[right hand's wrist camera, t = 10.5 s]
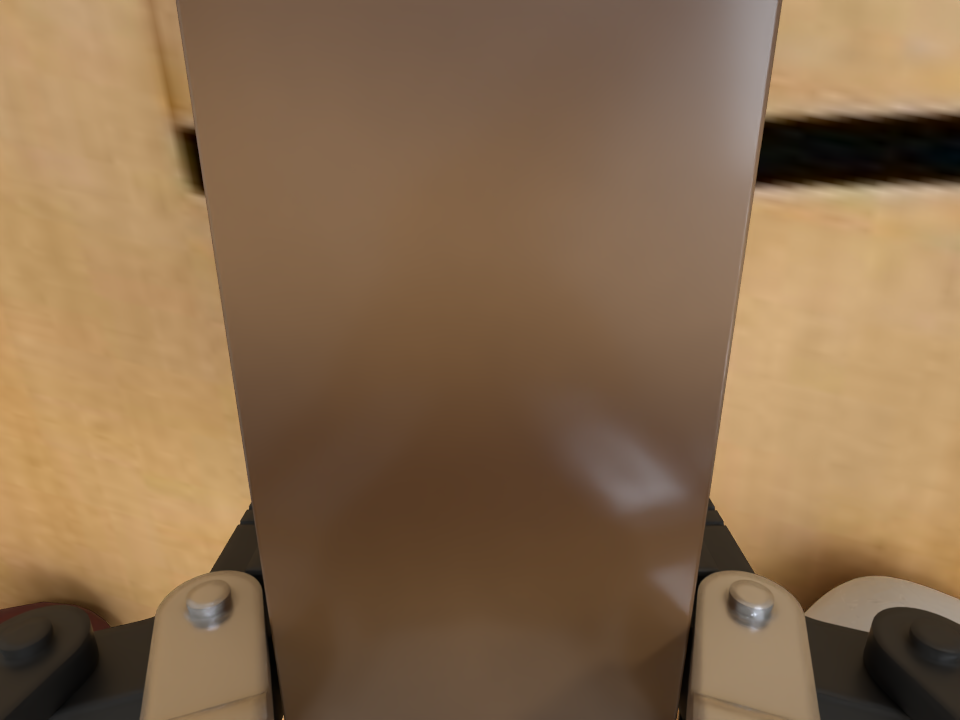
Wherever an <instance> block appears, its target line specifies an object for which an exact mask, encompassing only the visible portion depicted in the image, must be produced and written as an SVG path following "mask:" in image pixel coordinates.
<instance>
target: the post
mask: <svg viewBox="0 0 960 720" xmlns="http://www.w3.org/2000/svg"><path fill="white" fill-rule="evenodd" d="M176 5H177V11H178V18H179V24H180V31H181V38H182V44H183V51H184V58H185V64H186V71H187V77H188V84H189V91H190V97H191V104H192V111H193V117H194V124H195V130H196V137H197V144H198V150H199V157H200V164H201V170H202V177H203V183H204V190H205V197H206V203H207V210H208V217H209V223H210V230H211V236H212V243H213V250H214V256H215V263H216V270H217V276H218V283H219V289H220V296H221V303H222V309H223V316H224V323H225V329H226V336H227V342H228V349H229V356H230V362H231V369H232V376H233V382H234V389H235V395H236V402H237V409H238V415H239V422H240V429H241V435H242V442H243V448H244V455H245V462H246V468H247V475H248V482H249V488H250V495H251V501H252V508H253V515H254V521H255V528H256V535H257V541H258V548H259V554H260V561H261V568H262V574H263V581H264V588H265V594H266V601H267V607H268V614H269V621H270V627H271V634H272V641H273V647H274V654H275V660H276V667H277V674H278V680H279V687H280V694H281V700H282V707H283V713H284V720H676V719H677V712H678V705H679V698H680V692H681V685H682V678H683V671H684V665H685V658H686V651H687V644H688V637H689V631H690V624H691V617H692V610H693V603H694V597H695V590H696V583H697V576H698V569H699V563H700V556H701V549H702V542H703V535H704V529H705V522H706V515H707V508H708V502H709V495H710V488H711V481H712V474H713V468H714V461H715V454H716V447H717V440H718V434H719V427H720V420H721V413H722V406H723V400H724V393H725V386H726V379H727V372H728V366H729V359H730V352H731V345H732V339H733V332H734V325H735V318H736V311H737V305H738V298H739V291H740V284H741V277H742V271H743V264H744V257H745V250H746V243H747V237H748V230H749V223H750V216H751V209H752V203H753V196H754V189H755V182H756V176H757V169H758V162H759V155H760V148H761V142H762V135H763V128H764V121H765V114H766V108H767V101H768V94H769V87H770V80H771V74H772V67H773V60H774V53H775V46H776V40H777V33H778V26H779V19H780V13H781V6H782V0H176Z"/></svg>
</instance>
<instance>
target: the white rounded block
mask: <svg viewBox="0 0 960 720" xmlns="http://www.w3.org/2000/svg"><path fill="white" fill-rule="evenodd" d="M892 607H910V608H917V609H922V610H926V611H929V612H932V613H936V614H938V615H941V616H943V617H946V618H948V619H950V620H952V621H954V622H956V623H958V624H960V599H957V598H955V597H952V596H950V595H947V594H945V593H942V592H940V591H937V590H935V589H932V588H929V587H926V586H923V585H920V584H917V583H914V582H911V581H907V580H903V579H898V578H893V577H887V576H866V577H860V578H856V579H853V580H850V581H848V582H845V583H843V584H841V585H839V586H837V587H835V588H833V589H832V590H830V591H829V592H828V593H826V594H825V595H824V596H822V597H821V598H820V599H819V600H818V601H816V602H815V603H814V604H813V605H812V606H811V607H810V608H809V609H808V610H807V611H806V612H805V613H804V615H805V616H807V617H810V618H813V619H816V620H819V621H823V622H827V623H831V624H835V625H840V626H844V627H849V628H853V629H857V630H862V631H866V632H869V631H870V628H871V624H872V621H873V618H874V617H875V615H876V614H877V613H878V612H880V611H882V610H884V609H887V608H892Z"/></svg>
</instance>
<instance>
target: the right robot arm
mask: <svg viewBox="0 0 960 720" xmlns="http://www.w3.org/2000/svg"><path fill="white" fill-rule="evenodd" d="M678 708H679V716H678V720H960V624H958V623H956V622H954V621H952V620H950V619H948V618H946V617H943V616H941V615H938V614H936V613H932V612H929V611H926V610H922V609H917V608H910V607H892V608H887V609H884V610H882V611H880V612H878V613H877V614H876V615H875V617H874V618H873V621H872V624H871V628H870V631H869V632H866V631H862V630H857V629H853V628H849V627H844V626H840V625H835V624H831V623H827V622H823V621H819V620H816V619H813V618H810V617H807V616H805V615H804V612H803V609H802V607H801V605H800V604H799V602H798V601H797V600H796V598H795V597H794V596H793V595H792V594H791V593H790V592H788V591H787V590H786V589H785V588H783V587H782V586H780V585H779V584H777V583H775V582H773V581H771V580H769V579H767V578H765V577H762V576H759V575H757V574H755V573H754V571H753V570H752V568H751V566H750V565H749V563H748V561H747V560H746V558H745V556H744V555H743V553H742V551H741V550H740V548H739V546H738V545H737V543H736V541H735V540H734V538H733V537H732V535H731V533H730V532H729V530H728V528H727V527H726V525H724V522H723V520H722V518H721V517H720V515H719V513H718V512H717V510H715V507H714V505H713V503H712V502H711V500H710V498H709V502H708V508H707V515H706V522H705V529H704V535H703V542H702V549H701V556H700V563H699V569H698V576H697V583H696V590H695V597H694V603H693V610H692V617H691V624H690V631H689V637H688V644H687V651H686V658H685V665H684V671H683V678H682V685H681V692H680V698H679V705H678ZM283 715H284V713H283V707H282V700H281V694H280V687H279V680H278V674H277V667H276V660H275V654H274V647H273V641H272V634H271V627H270V621H269V614H268V607H267V601H266V594H265V588H264V581H263V574H262V568H261V561H260V554H259V548H258V541H257V535H256V528H255V521H254V515H253V508H252V502H251V504H250V506H249V510H247V511H246V512H245V514H244V516H243V517H242V519H241V521H240V525H238V526H237V528H236V529H235V531H234V533H233V534H232V536H231V538H230V539H229V541H228V543H227V544H226V546H225V548H224V549H223V551H222V553H221V555H220V556H219V558H218V560H217V561H216V563H215V565H214V566H213V568H212V570H211V571H210V573H207V574H203V575H200V576H198V577H195V578H193V579H191V580H189V581H187V582H185V583H183V584H181V585H180V586H178V587H177V588H175V589H174V590H173V591H172V592H170V593H169V594H168V595H167V596H166V597H165V598H164V600H163V601H162V602H161V604H160V605H159V607H158V609H157V611H156V615H155V617H152V618H149V619H145V620H142V621H138V622H133V623H129V624H125V625H120V626H116V627H111V628H107V629H103V630H98V631H94V632H93V628H92V625H91V621H90V618H89V616H88V614H87V613H86V612H85V611H84V610H82V609H80V608H78V607H75V606H70V605H52V606H45V607H41V608H37V609H33V610H30V611H27V612H24V613H22V614H19V615H17V616H14V617H12V618H10V619H8V620H6V621H4V622H3V623H1V624H0V720H282V718H283Z"/></svg>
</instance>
